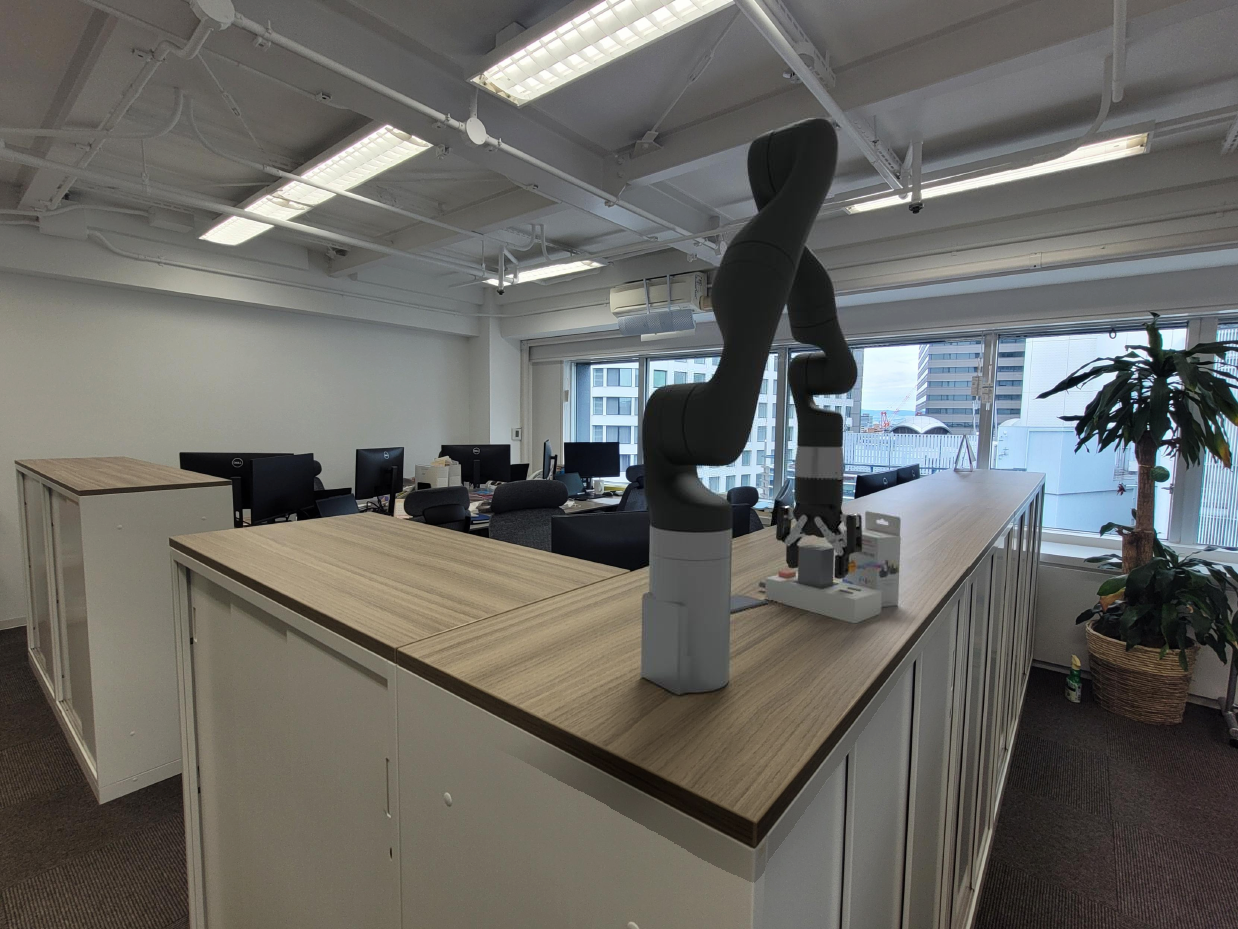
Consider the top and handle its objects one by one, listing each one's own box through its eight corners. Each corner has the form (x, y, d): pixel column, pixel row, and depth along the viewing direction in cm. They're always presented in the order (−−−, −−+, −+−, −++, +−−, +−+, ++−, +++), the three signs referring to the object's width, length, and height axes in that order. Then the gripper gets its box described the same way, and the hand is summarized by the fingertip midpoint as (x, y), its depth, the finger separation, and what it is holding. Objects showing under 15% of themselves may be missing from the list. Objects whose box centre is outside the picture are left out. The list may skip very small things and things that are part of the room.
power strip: (854, 623, 83) (855, 594, 83) (746, 593, 98) (746, 568, 98) (880, 613, 88) (881, 585, 88) (773, 586, 103) (774, 562, 103)
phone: (718, 621, 85) (718, 614, 85) (690, 611, 90) (690, 605, 90) (768, 607, 92) (768, 601, 92) (739, 599, 97) (739, 593, 97)
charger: (819, 606, 90) (820, 549, 89) (797, 600, 93) (798, 545, 92) (832, 601, 92) (834, 546, 92) (810, 596, 95) (811, 543, 95)
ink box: (839, 594, 99) (842, 511, 98) (863, 592, 100) (865, 510, 100) (875, 608, 91) (878, 518, 90) (899, 606, 92) (903, 517, 91)
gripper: (768, 472, 95) (766, 567, 95) (847, 478, 83) (844, 585, 84) (794, 471, 99) (792, 562, 100) (872, 476, 88) (869, 578, 89)
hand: (816, 572), depth 92 cm, fingers open, 8 cm apart
